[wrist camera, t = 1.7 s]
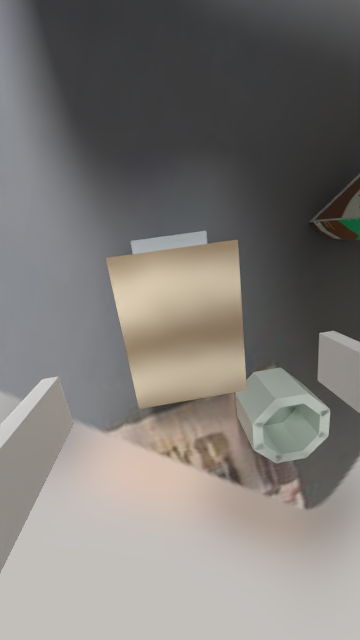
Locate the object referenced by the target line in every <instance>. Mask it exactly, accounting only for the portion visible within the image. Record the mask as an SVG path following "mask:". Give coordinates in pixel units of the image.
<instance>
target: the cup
mask: <svg viewBox="0 0 360 640" xmlns="http://www.w3.org/2000/svg"><path fill="white" fill-rule="evenodd" d="M246 387H247V390H246V391H240V392H235V395H236V408H237V417H238V419H239V421H240V423H241V425H242V427H243V429H244V431H245V433H246V435H247V437H248V439H249V441H250V444H251V446H252V448H253V450H254V451H256V452H258V453H259V454H261V455H263V456H265V457H266V458H268V459H270V460H271V461H273V462H275V463H281V462H286V461H292V460H297V459H302V458H307V457H308V456H309V455H310V454H311V453H312V452H313V451H314V450H315V449H316V448H317V447H318V446H319V445H320V444H321V443H322V442H323V441H324V440H325V439H326V438H327V437H328V436H329V422H330V409H329V408H328V407H327V406H326V405H325V404H324V403H323V402H322V401H321V400H320V399H319V398H317V397H316V396H315V395H314V394H313V393H312V392H311V391H310V390H309V389H308V388H306V387H305V386H304V385H303V384H302V383H301V382H300V381H298V380H297V379H296V378H294V377H293V376H292V375H290V374H289V373H288V372H286V371H285V370H284V369H282V368H281V367H280V368H274V369H269V370H263V371H257V372H253V373H252V374H251V375H250V377H249V378H248V379H247V380H246Z"/></svg>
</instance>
